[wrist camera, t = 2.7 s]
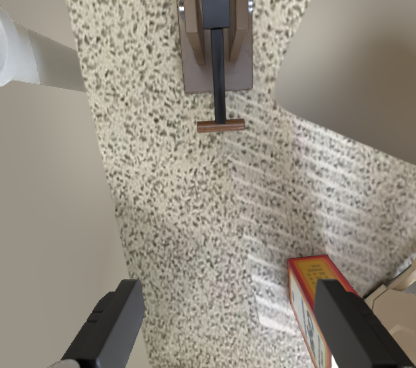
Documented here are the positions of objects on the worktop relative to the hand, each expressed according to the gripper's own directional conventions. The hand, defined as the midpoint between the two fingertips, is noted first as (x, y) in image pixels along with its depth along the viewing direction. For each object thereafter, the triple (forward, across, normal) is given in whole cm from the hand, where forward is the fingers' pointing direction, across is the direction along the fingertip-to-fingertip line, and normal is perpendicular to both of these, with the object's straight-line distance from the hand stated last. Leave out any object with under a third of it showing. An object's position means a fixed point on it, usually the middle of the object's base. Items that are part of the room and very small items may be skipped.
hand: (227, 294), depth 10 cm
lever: (+16, 0, +12) cm, 20 cm away
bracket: (+25, 0, +16) cm, 30 cm away
